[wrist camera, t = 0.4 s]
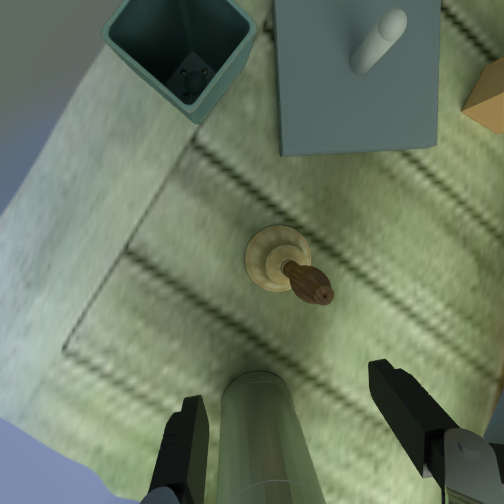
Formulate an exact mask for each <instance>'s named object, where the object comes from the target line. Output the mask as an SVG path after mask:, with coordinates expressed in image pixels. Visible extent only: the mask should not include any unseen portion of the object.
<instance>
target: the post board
mask: <svg viewBox="0 0 504 504" xmlns="http://www.w3.org/2000/svg"><path fill="white" fill-rule="evenodd" d="M272 7H273V25H274V44H275V62H276V80H277V99H278V117H279V136H280V154H281V157H289V156H306V155H323V154H340V153H357V152H374V151H391V150H408V149H425V148H430V147H433V146H435V145H437V122H438V84H439V47H440V10H441V0H272Z"/></svg>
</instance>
